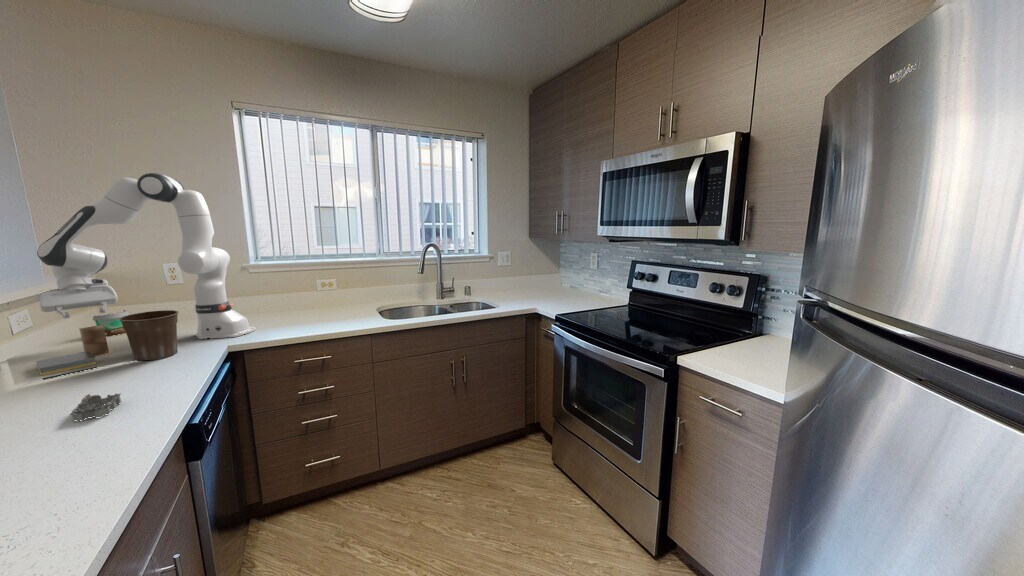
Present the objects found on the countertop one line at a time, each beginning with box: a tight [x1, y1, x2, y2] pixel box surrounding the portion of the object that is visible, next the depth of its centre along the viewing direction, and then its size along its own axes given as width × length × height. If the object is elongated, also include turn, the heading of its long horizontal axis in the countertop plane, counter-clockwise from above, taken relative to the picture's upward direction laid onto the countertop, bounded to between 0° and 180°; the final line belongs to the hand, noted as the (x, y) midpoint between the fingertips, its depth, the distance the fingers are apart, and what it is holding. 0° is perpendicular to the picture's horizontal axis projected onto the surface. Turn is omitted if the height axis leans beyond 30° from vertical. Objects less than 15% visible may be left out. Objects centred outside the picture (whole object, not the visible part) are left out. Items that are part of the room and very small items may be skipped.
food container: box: [92, 309, 130, 337], centre depth 174 cm, size 12×6×10 cm, turn 168°
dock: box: [35, 351, 97, 381], centre depth 130 cm, size 12×12×4 cm
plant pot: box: [119, 309, 180, 362], centre depth 143 cm, size 16×16×16 cm
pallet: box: [94, 348, 115, 357], centre depth 144 cm, size 8×8×2 cm
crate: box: [78, 325, 110, 357], centre depth 143 cm, size 6×6×10 cm
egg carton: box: [68, 392, 122, 422], centre depth 101 cm, size 11×8×4 cm
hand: (85, 314), depth 147 cm, fingers open, 8 cm apart
